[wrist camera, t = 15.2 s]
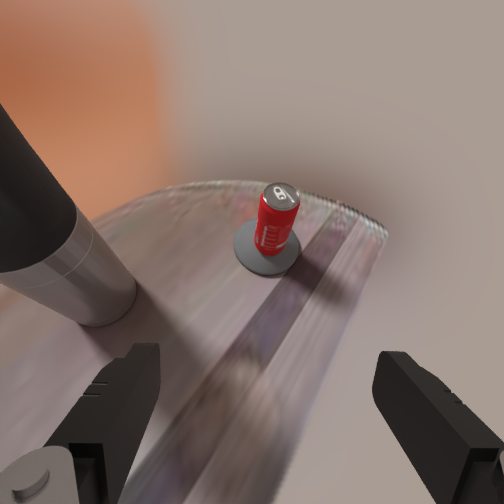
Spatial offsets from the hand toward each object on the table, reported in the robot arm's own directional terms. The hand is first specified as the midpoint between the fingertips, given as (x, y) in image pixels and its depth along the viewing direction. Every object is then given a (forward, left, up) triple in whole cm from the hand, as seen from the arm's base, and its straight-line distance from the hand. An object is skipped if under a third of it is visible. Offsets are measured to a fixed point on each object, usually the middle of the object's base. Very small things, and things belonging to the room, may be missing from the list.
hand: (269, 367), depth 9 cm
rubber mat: (-15, +16, -27) cm, 35 cm away
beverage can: (-15, +16, -26) cm, 34 cm away
